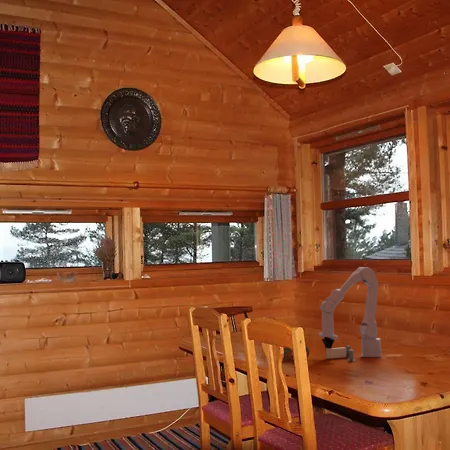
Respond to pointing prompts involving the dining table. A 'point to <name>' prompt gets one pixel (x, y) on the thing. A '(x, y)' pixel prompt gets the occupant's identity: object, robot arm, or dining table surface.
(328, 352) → the lipped cream column
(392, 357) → the dining table surface
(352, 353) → the latch block
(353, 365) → the dining table surface
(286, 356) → the tin
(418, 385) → the dining table surface
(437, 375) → the dining table surface
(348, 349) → the pivot post
